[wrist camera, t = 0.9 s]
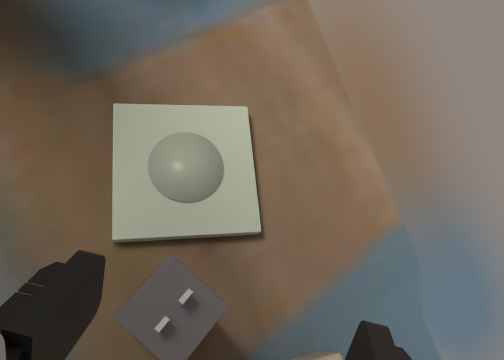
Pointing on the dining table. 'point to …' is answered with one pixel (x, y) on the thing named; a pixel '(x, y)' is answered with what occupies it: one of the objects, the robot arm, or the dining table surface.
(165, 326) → the charger brick
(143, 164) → the motion sensor
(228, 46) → the dining table surface
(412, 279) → the dining table surface
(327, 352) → the electrical outlet
